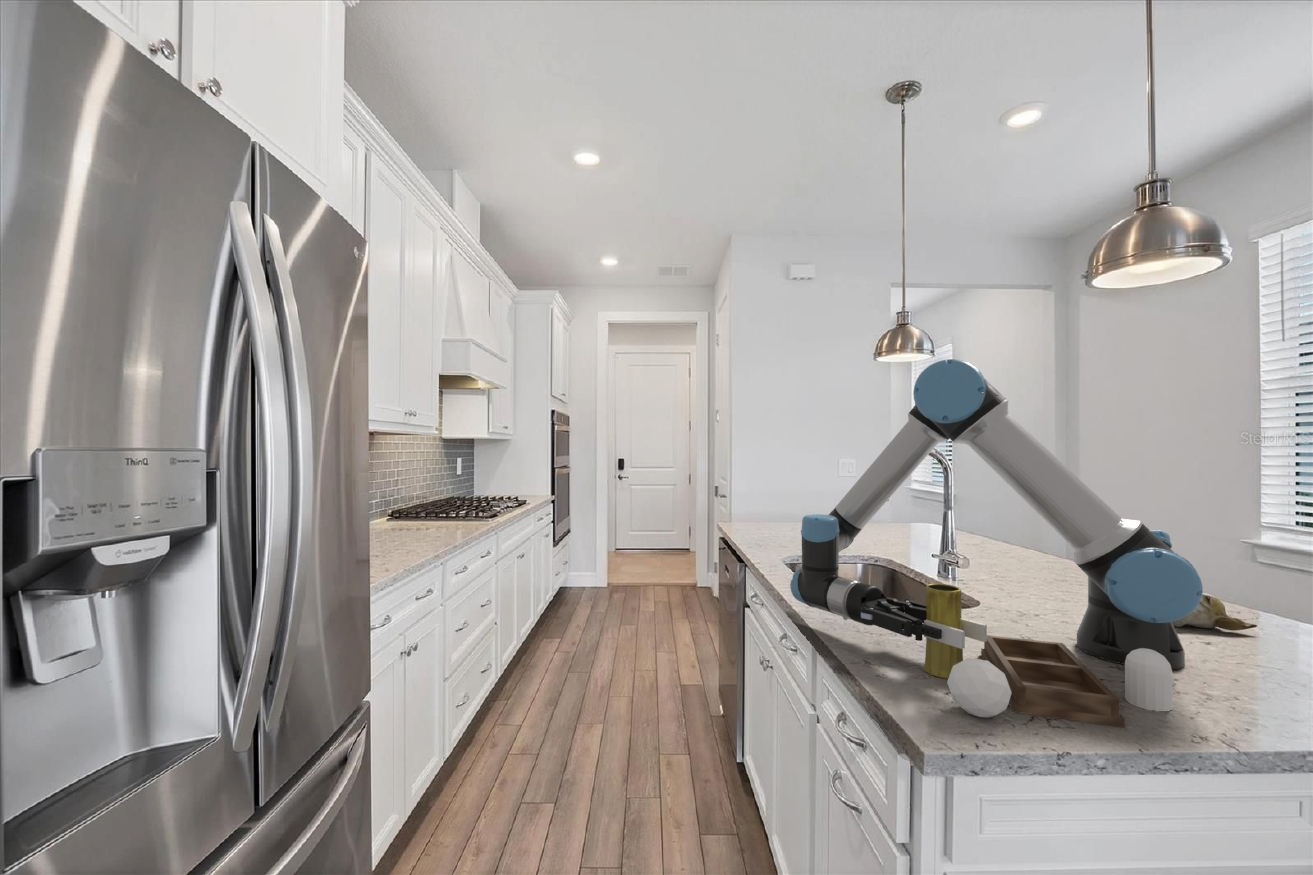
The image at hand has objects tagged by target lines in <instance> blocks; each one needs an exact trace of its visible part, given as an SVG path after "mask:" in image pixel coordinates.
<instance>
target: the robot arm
mask: <svg viewBox="0 0 1313 875" xmlns="http://www.w3.org/2000/svg"><path fill="white" fill-rule="evenodd" d="M912 395H913V400H914V403H915V404H914V406H913V407H912V408H911V410H910V411H909V412H908V413H907V418H908V420H907V422H906V423H905V424H904V425H903V427H902V428H901V429H900V430H899V431H898V433H897V434H896V435H895V436H894V437H893V438H892V439H891V441H890V442H889V443H888V444H887V446H886V447H885V448H884V449H883V450H882V452H881V453H880V454H879V455H878V456H877V457H876V459H875V460H874V461H873V462H872V463H871V464H870V466H869V467H868V468H867V469H866V470H865V471H864V473H863V474H862V475H861V476H860V478H859V479H858V480H857V481H856V482H855V483H854V485H853V486H852V487H851V488H850V489H849V490H848V491H847V493H845V495H844V497H842V498H841V500H840V501H839V502H838V503H837V505H836V506H835V507H834V509H832V510H831V512H830V513H829V514H820V513H818V514H807V515H804V516H803V517H802V520H801V530H800V535H801V567H800V568H798V569H796V570H795V571H794V573H793V574H792V579H791V580H790V585H789V586H790V587H789V588H790V592H791V595H792V596H793V597H794V599H795V600H797V602H800V603H802V604H805V605H807V606H808V607H811V608H814V609H815V608H816V609H818V610H821V611H825V612H828V613H831V614H833V615H837V616H840V617H842V618H843V620H845V621H847V620H852V621H853V622H857V623H860V624H862V625H865V626H876V627H878V628H882V629H884V630H887V631H889V632H893V633H895V634H899V635H901V636H904V637H906V638H911V637H913V635H914V640H915V641H919V642H921V641H923V637H924V638H926V637H927V638H930V639H933V640H936V641H939V642H942V643H945V644H948V645H951V646H954V647H957V648H960V649H966V648H965V647H966V646H965V645H966V639H965V638H969V639H972V640H975V641H979V642H983V643H984V642H987V635H988V631H987V630H988V628H987V626H988V625H987V624H986V623H982V622H978V621H974V620H970V619H967V618H963V617H961V618H962V630H960V629H956V628H953V627H949V626H946V625H943V624H939V623H936V622H933V621H929V620H926V603H922V602H919V601H915V600H913V599H911V598H904V600H898V599H896V598H894V597H890V596H889V597H886V596H885V595H884V592H883V591H882V589H881V588H880V587H878V586H875V585H871V584H869V583H865V582H860V581H858V580H854V579H850V578H846V577H842V576H839V570H840V568H839V567H840V566H839V564H840V563H839V557H840V556H839V554H840V552H841V551H843V550H845V549H847V548H848V547H849V546H850V545H852V543H853V542H854V540H855V538H856V537H858V535H859V534H860V533H861V531H862V530H863V529H864V527H866V525H867V524H868V523H869V522H870V521H871V520H872V519H873V517H875V515H876V514H877V513H878V512H879V511H880V510H881V508H883V506H884V505H885V504H886V503H887V501H888V500H890V498H891V497H893V495H894V494H895V493H896V491H897V490H898V489H899V488H900V487H901V486H902V485H903V484H904V483H905V481H906V480H907V479H908V478H909V477H910V475H912V474H913V472H914V471H915V470H917V468H918V467H919V466H920V464H921V463H922V462H924V460H925V459H926V458H927V457H928V456H929V454H930V453H931V452H932V451H933V450H934V449H935V447H937V445H939V443H945V442H948V441H949V440H950V441H951V442H953V444H964V445H967V446H969V447H970V448H971V449H972V451H974V453H976V454H977V455H978V457H980V458H981V459H982V461H984V462H985V463H986V464H987V465H988V466H989V467H990V468H991V469H992V470H993V471H994V472H995V473H996V474H997V475H998V476H999V477H1000V478H1002V480H1003V481H1004V482H1006V484H1007V485H1008V486H1009V487H1011V489H1012V490H1014V492H1015V493H1017V495H1019V497H1020V498H1021V499H1023V500H1024V501H1025V502H1026V504H1028V506H1030V508H1032V509H1033V510H1034V511H1035V512H1036V513H1037V515H1039V517H1041V518H1042V519H1043V520H1044V521H1045V522H1046V523H1047V524H1049V526H1050V527H1051V528H1052V530H1053V529H1054V531H1055V532H1056V533H1058V535H1059V536H1061V538H1062V539H1063V540H1064V541H1065V542H1066V543H1068V544H1069V545H1070V546H1071V548H1072V549H1073V562H1074V564H1075V565H1076V566H1078V567H1079V568H1080V570H1082V571H1083V573H1085V575H1087V597H1088V598H1087V608H1086V610H1085V612H1084V614H1083V617H1082V620H1081V621H1080V624H1079V627H1078V629H1077V632H1076V645H1077V647H1078V649H1081V651H1083V652H1085V653H1087V654H1089V655H1091V656H1093V657H1097V658H1100V659H1102V660H1106V661H1108V662H1112V663H1116V664H1121V665H1125V660H1126V656H1127V655H1128V654H1129V653H1130V652H1131V651H1133V650H1136V649H1140V648H1146V649H1151V650H1154V651H1156V652H1158V653H1159V654H1161V655H1163V656H1164V657H1165V658H1166V659H1167V661H1168V662H1169V663H1170V665H1171V669H1172V670H1177V669H1181V668H1183V667H1185V665H1186V660H1185V659H1186V657H1185V654H1186V653H1185V650H1184V647H1183V644H1182V642H1181V640H1180V638H1179V634H1178V633H1177V630H1176V626H1174V625H1173V622H1172V621H1176V620H1179V619H1181V618H1184V617H1185V616H1187V615H1189V614H1190V613H1191V612H1192V611H1194V610H1195V608H1196V607H1197V606H1198V604H1199V603H1200V600H1201V597H1202V593H1204V592H1203V583H1202V580H1201V577H1200V575H1199V574H1198V571H1197V569H1196V568H1195V567H1194V565H1193V564H1192V563H1191V562H1190V561H1189V560H1188V559H1186V558H1185V557H1184V556H1181V555H1180V554H1178V553H1176V552H1175V551H1173V550H1172V547H1173V544H1172V542H1171V536H1170V535H1169V533H1168V532H1166V531H1164V530H1157V529H1155V530H1154V529H1149V528H1148V527H1147V526H1146V525H1145V524H1144V523H1143V522H1142V521H1141V520H1138V519H1129V518H1128V519H1127V518H1123V517H1121V516H1120V515H1119V514H1118V513H1117V512H1116V511H1115V510H1114V509H1112V508H1111V507H1110V506H1109V504H1107V503H1106V502H1105V501H1104V500H1103V499H1102V498H1101V497H1100V496H1099V495H1097V493H1095V492H1094V491H1093V490H1092V489H1091V488H1090V487H1089V486H1088V485H1086V484H1085V483H1084V482H1083V480H1081V479H1080V478H1079V477H1078V476H1077V475H1076V474H1075V473H1074V472H1072V470H1070V469H1069V468H1068V467H1067V466H1066V465H1065V464H1064V463H1063V462H1062V461H1061V460H1059V459H1058V458H1057V456H1055V455H1054V454H1053V453H1052V452H1051V451H1050V450H1049V449H1048V448H1047V447H1045V445H1044V444H1042V443H1041V442H1040V441H1039V440H1038V439H1037V438H1036V437H1035V436H1034V435H1032V433H1030V432H1029V430H1027V429H1026V428H1025V427H1024V426H1023V424H1020V422H1018V421H1017V419H1015V418H1014V417H1013V416H1012V415H1011V414H1010V413H1009V400H1008V399H1007V398H1006V397H1005V396H1004V395H1003V394H1002V393H1001V392H999V391H998V389H996V388H995V387H994V386H993V385H992V384H991V383H990V382H989V381H987V379H986V378H984V375H983V373H982V372H981V371H980V369H978V367H976V366H975V365H974V364H972V363H971V362H968V361H965V360H962V359H955V358H950V359H949V358H948V359H942V360H939V361H935V362H933V363H932V364H929V365H928V366H927V367H926V368H925V369H923V370H922V371H921V373H920V374H919V375H918V377H917V379H916V380H915V382H914V386H913V394H912Z"/></svg>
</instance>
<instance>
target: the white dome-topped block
mask: <svg viewBox="0 0 1313 875" xmlns="http://www.w3.org/2000/svg"><path fill="white" fill-rule="evenodd" d="M1173 679H1174V678H1173V669H1171V665H1170V663H1169V662H1168V661H1167V659H1166V658H1165V657H1164V656H1163V655H1161V654H1159V653H1158V652H1156V651H1154V650H1151V649H1146V648H1140V649H1136V650H1133V651H1131V652H1130V653H1129V654H1128V655H1127V656H1126V660H1125V664H1124V698H1125V701H1127V702H1128V703H1129V704H1131V705H1133V706H1135V707H1138V708H1140V709H1144V710H1147V711H1152V710H1155V711H1154V712H1159V711H1170V710H1172V711H1173V710H1174V709H1173V705H1174V703H1173V697H1174V695H1173V691H1174V690H1173V687H1174V685H1173V684H1174V683H1173V682H1174V681H1173ZM1170 712H1171V711H1170Z"/></svg>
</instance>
